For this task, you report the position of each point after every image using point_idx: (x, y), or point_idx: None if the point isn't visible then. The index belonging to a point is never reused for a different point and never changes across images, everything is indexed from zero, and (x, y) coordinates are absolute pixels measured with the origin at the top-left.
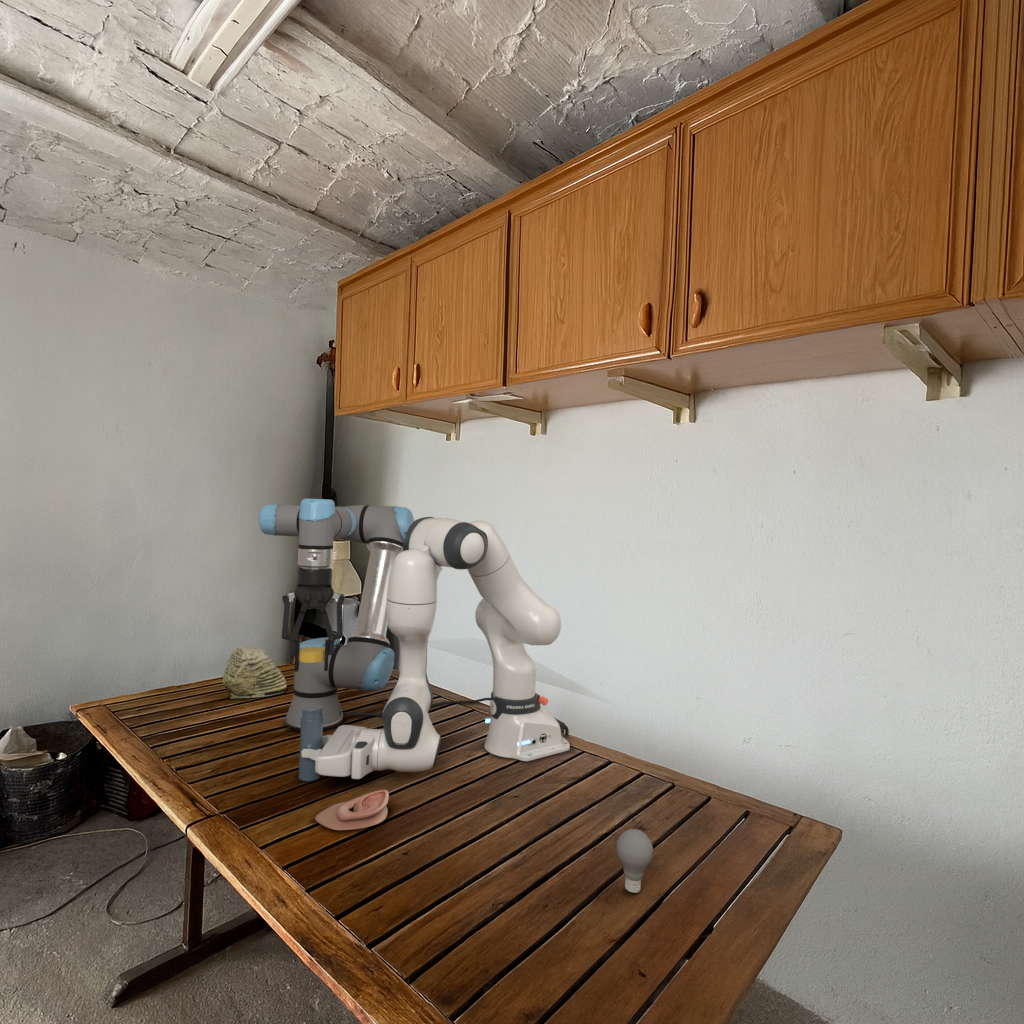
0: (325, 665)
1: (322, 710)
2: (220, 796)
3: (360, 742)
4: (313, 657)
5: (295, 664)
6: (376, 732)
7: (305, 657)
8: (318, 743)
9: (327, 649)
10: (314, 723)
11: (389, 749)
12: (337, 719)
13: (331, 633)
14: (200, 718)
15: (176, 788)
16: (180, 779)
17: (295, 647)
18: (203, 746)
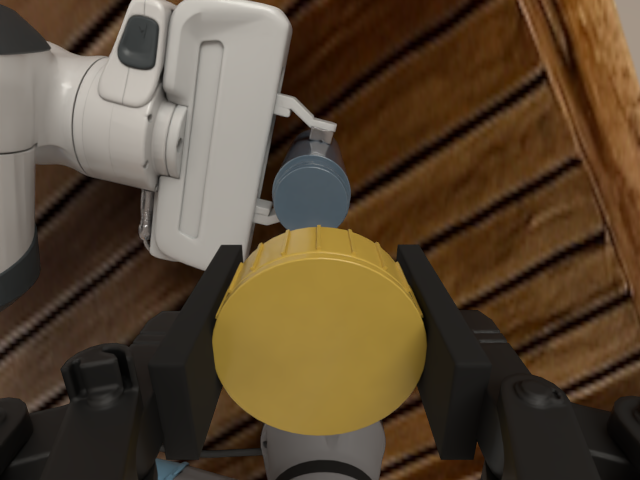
0: (227, 259)
1: (273, 195)
2: (512, 76)
3: (142, 61)
4: (301, 240)
5: (424, 264)
6: (89, 114)
7: (366, 251)
8: (290, 150)
9: (183, 320)
10: (300, 154)
11: (57, 54)
12: None
13: (66, 450)
14: None
15: (606, 137)
16: (596, 183)
17: (471, 334)
18: (547, 343)
